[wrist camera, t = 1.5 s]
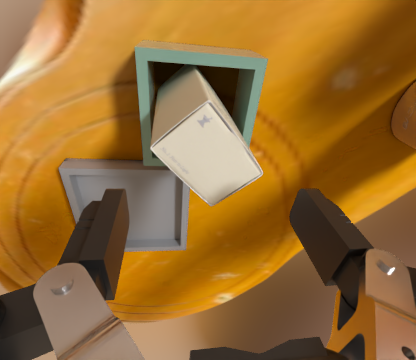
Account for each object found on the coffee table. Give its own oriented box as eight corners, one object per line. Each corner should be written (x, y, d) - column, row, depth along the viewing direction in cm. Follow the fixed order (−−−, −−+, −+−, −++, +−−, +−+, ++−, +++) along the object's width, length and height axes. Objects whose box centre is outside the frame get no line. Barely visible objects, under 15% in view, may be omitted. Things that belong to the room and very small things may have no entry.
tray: (189, 161, 28) (190, 170, 26) (185, 239, 35) (186, 249, 34) (65, 158, 26) (58, 168, 24) (89, 241, 33) (85, 252, 32)
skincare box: (157, 88, 23) (141, 146, 13) (193, 56, 21) (207, 94, 12) (196, 135, 26) (209, 210, 16) (230, 110, 25) (266, 175, 15)
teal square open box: (250, 50, 22) (268, 58, 17) (234, 144, 27) (244, 167, 23) (143, 40, 20) (134, 46, 16) (148, 141, 26) (143, 165, 22)
